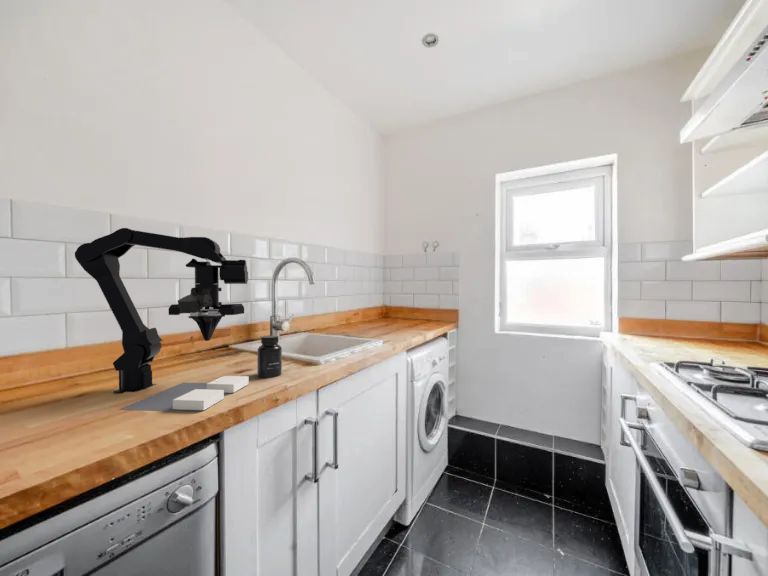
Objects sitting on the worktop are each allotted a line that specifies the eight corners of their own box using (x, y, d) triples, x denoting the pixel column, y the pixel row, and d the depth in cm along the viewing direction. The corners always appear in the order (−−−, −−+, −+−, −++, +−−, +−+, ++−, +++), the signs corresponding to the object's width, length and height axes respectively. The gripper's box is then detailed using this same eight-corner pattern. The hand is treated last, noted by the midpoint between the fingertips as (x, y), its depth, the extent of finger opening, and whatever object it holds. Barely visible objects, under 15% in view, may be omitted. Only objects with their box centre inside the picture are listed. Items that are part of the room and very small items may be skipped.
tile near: (172, 399, 67) (203, 400, 66) (195, 389, 74) (223, 389, 73) (172, 410, 67) (203, 411, 66) (195, 398, 74) (223, 399, 73)
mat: (118, 412, 67) (118, 409, 67) (183, 384, 86) (183, 382, 86) (197, 414, 66) (197, 411, 66) (245, 386, 85) (245, 383, 85)
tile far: (206, 383, 78) (233, 384, 77) (223, 375, 85) (248, 376, 84) (206, 392, 78) (233, 393, 77) (223, 384, 85) (248, 384, 84)
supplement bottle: (274, 380, 89) (273, 338, 89) (252, 379, 91) (252, 338, 91) (286, 374, 96) (285, 335, 96) (266, 373, 97) (265, 334, 97)
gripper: (151, 284, 79) (151, 345, 80) (221, 283, 78) (221, 346, 78) (183, 284, 91) (183, 338, 91) (245, 283, 89) (245, 339, 89)
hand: (207, 340), depth 87 cm, fingers closed
